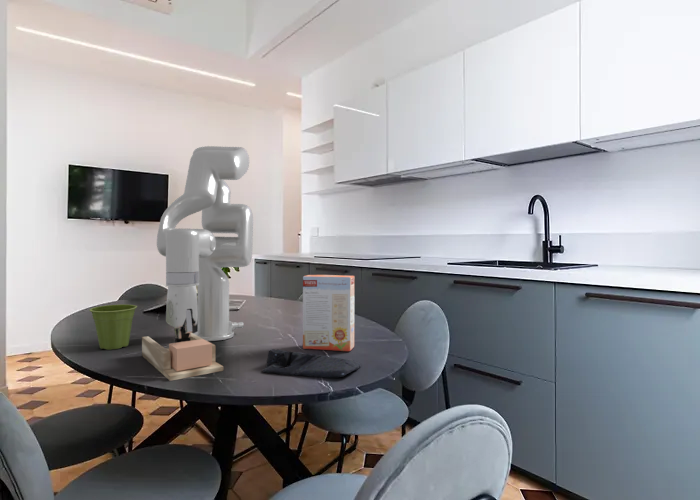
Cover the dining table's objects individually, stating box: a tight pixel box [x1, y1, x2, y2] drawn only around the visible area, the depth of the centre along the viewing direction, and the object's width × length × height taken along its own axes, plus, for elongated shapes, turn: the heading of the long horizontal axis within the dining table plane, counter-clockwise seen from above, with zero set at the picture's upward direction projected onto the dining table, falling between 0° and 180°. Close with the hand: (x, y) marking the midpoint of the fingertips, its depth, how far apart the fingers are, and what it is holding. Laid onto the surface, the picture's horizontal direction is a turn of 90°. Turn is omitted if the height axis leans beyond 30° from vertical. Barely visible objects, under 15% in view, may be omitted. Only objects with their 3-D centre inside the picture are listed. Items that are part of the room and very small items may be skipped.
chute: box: [141, 332, 224, 382], centre depth 106 cm, size 12×25×5 cm, turn 39°
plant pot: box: [89, 303, 138, 351], centre depth 121 cm, size 12×12×11 cm
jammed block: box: [168, 339, 213, 371], centre depth 100 cm, size 8×6×5 cm
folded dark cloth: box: [261, 348, 362, 379], centre depth 102 cm, size 15×22×5 cm
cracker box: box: [302, 274, 355, 352], centre depth 121 cm, size 14×6×21 cm, turn 77°
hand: (182, 353), depth 104 cm, fingers closed
